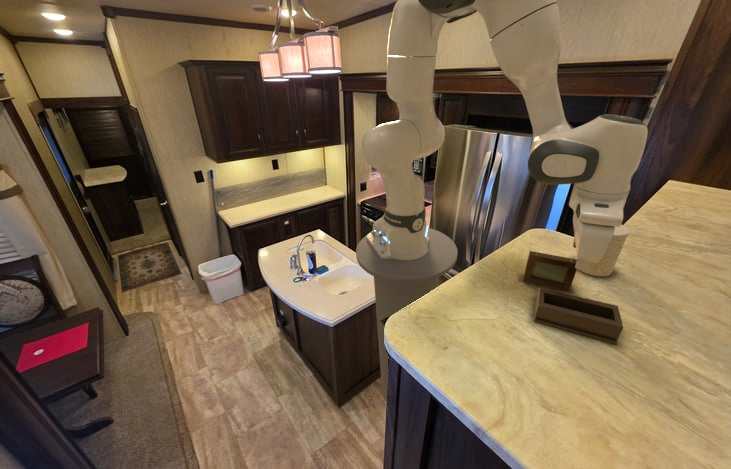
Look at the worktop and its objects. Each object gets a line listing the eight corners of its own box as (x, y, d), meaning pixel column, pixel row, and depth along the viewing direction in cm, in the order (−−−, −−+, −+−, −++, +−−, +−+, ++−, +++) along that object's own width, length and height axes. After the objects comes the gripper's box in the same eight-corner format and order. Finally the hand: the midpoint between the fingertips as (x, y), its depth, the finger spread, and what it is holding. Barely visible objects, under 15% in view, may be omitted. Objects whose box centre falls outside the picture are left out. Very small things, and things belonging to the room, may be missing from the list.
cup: (579, 274, 74) (594, 233, 68) (570, 257, 81) (582, 218, 75) (617, 278, 72) (635, 236, 66) (604, 259, 79) (619, 220, 73)
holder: (535, 299, 68) (539, 285, 66) (610, 318, 61) (617, 303, 59) (534, 321, 62) (538, 307, 60) (616, 344, 55) (624, 329, 53)
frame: (523, 276, 75) (529, 250, 71) (569, 286, 71) (578, 259, 67) (522, 280, 74) (529, 254, 70) (569, 291, 69) (578, 264, 65)
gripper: (575, 182, 68) (560, 233, 75) (581, 217, 53) (562, 278, 59) (608, 185, 65) (590, 238, 72) (625, 223, 50) (600, 286, 56)
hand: (578, 256), depth 65 cm, fingers open, 8 cm apart
